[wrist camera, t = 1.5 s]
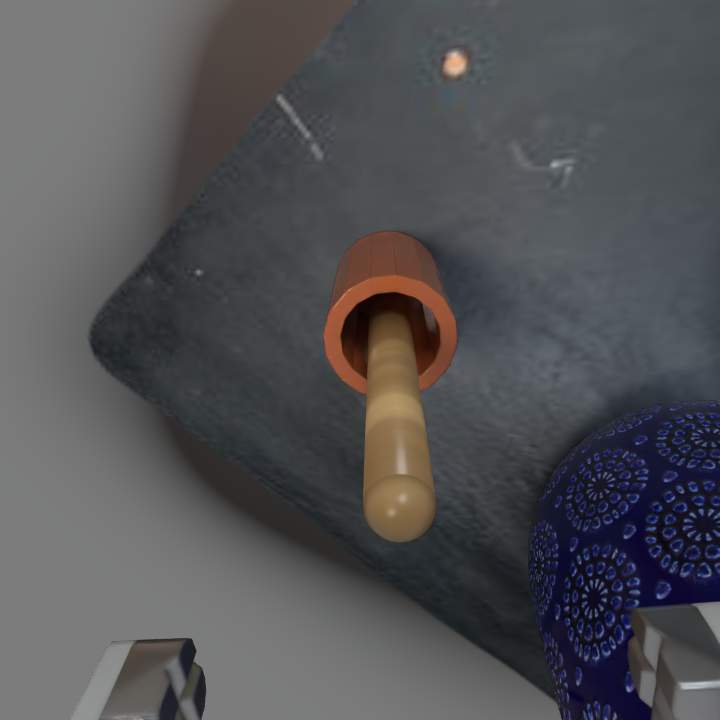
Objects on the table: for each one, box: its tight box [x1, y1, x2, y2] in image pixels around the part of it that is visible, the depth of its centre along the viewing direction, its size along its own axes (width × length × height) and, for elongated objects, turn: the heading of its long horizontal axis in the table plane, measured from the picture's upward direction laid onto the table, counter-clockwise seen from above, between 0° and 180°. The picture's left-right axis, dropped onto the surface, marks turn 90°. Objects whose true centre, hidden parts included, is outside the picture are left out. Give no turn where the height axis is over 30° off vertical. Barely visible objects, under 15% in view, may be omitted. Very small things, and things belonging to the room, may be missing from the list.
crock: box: [323, 231, 458, 394], centre depth 28 cm, size 5×5×8 cm
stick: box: [363, 292, 436, 542], centre depth 22 cm, size 2×2×19 cm
